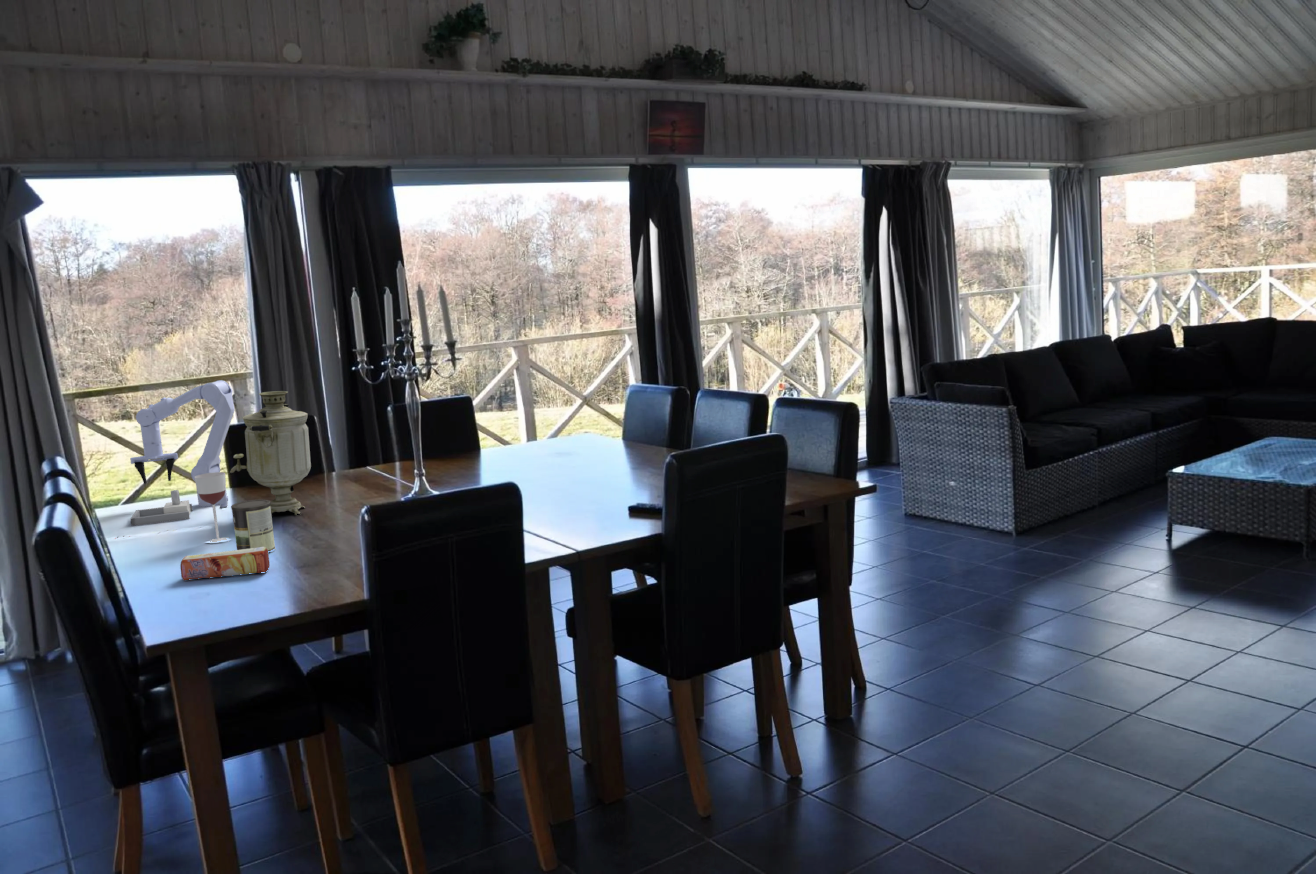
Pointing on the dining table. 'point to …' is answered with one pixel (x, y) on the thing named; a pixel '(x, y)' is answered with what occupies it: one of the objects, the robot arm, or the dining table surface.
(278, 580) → the dining table surface
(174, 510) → the peg on square base
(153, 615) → the dining table surface
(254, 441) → the samovar
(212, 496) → the wineglass
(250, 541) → the coffee can
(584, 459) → the dining table surface
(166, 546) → the dining table surface
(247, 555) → the snack package
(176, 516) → the bay
